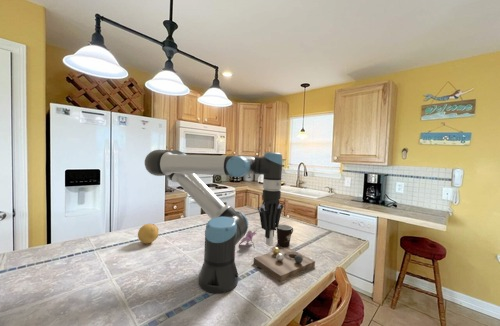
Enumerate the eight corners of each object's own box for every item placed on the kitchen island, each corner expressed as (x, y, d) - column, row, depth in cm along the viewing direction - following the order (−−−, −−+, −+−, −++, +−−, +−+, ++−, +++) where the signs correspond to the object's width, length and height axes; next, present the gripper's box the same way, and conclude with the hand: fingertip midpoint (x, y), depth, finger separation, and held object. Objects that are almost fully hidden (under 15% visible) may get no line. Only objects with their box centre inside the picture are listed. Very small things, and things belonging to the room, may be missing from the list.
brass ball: (275, 256, 99) (276, 249, 98) (270, 253, 101) (271, 246, 101) (281, 255, 101) (281, 248, 101) (276, 252, 103) (276, 245, 103)
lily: (259, 243, 121) (252, 227, 123) (266, 243, 111) (259, 225, 113) (240, 252, 116) (234, 235, 119) (246, 253, 106) (239, 235, 108)
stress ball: (135, 247, 108) (143, 239, 103) (133, 229, 113) (141, 220, 108) (154, 245, 115) (163, 237, 111) (152, 228, 120) (160, 220, 116)
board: (280, 282, 83) (280, 275, 83) (253, 263, 97) (253, 257, 97) (314, 266, 97) (315, 261, 96) (286, 251, 110) (287, 247, 110)
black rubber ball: (298, 265, 92) (299, 258, 92) (292, 262, 94) (293, 254, 94) (303, 263, 94) (304, 256, 94) (297, 260, 96) (298, 253, 96)
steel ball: (279, 263, 92) (280, 256, 92) (274, 260, 95) (274, 253, 95) (285, 261, 94) (285, 254, 94) (279, 258, 97) (280, 251, 97)
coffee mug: (279, 248, 113) (280, 230, 113) (273, 242, 122) (274, 224, 121) (298, 247, 116) (300, 229, 116) (291, 240, 125) (292, 224, 124)
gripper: (266, 192, 82) (263, 252, 83) (289, 189, 90) (286, 244, 91) (254, 189, 88) (251, 245, 89) (276, 187, 96) (274, 238, 97)
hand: (269, 244), depth 90 cm, fingers closed
